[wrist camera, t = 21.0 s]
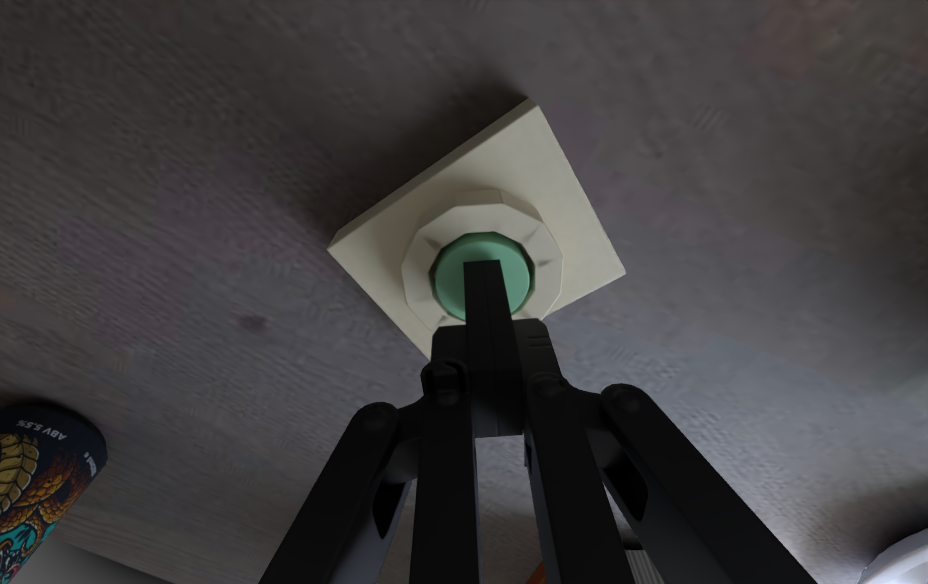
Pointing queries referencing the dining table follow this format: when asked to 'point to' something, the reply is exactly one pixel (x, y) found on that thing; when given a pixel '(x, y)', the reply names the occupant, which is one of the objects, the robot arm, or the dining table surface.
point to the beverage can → (41, 475)
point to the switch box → (481, 226)
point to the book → (640, 564)
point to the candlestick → (900, 563)
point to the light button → (480, 249)
